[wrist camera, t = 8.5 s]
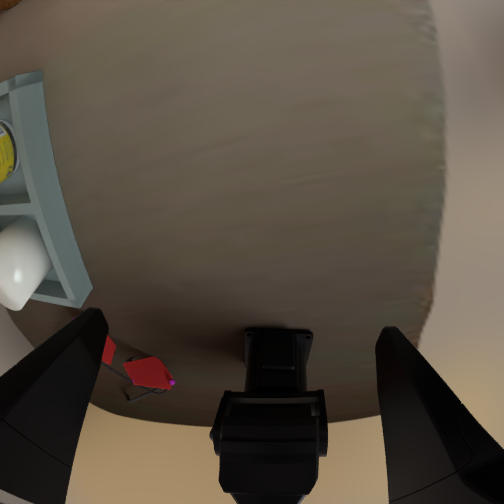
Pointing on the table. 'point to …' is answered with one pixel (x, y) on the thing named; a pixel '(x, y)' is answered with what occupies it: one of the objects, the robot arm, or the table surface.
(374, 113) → the table surface
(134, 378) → the glasses
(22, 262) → the white pillar candle
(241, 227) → the table surface
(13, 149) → the supplement bottle
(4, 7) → the disposable coffee cup
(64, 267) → the tray
